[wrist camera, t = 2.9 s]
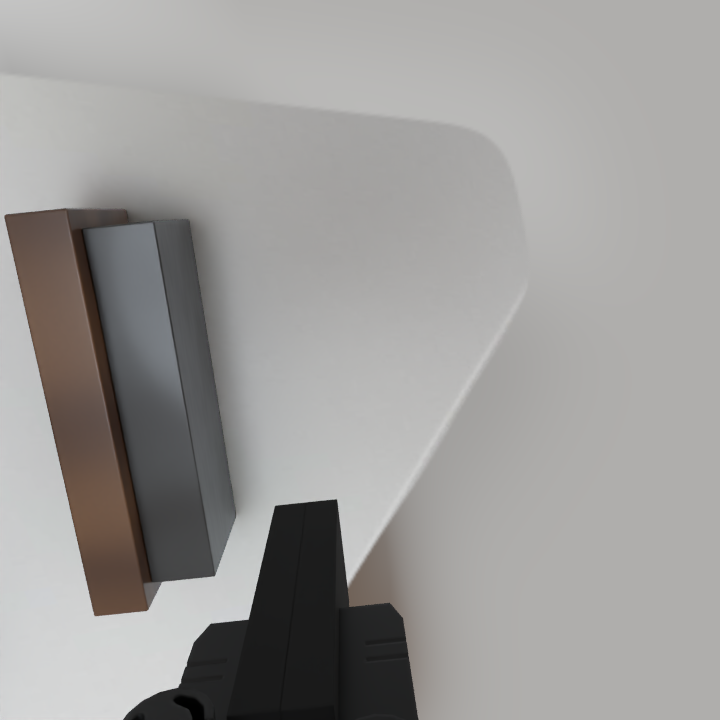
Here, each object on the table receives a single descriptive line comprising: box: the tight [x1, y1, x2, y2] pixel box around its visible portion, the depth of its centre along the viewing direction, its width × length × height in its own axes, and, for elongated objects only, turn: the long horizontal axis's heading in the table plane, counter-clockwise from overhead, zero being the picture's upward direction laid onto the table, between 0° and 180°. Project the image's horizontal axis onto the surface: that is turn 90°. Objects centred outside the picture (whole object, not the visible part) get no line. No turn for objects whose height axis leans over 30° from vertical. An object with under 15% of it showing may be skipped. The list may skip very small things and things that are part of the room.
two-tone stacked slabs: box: [5, 208, 236, 616], centre depth 30 cm, size 18×6×7 cm, turn 6°
